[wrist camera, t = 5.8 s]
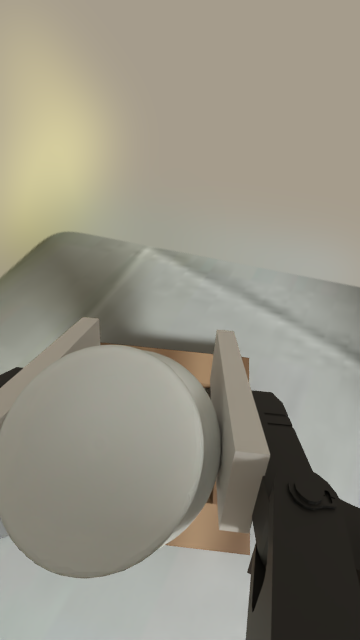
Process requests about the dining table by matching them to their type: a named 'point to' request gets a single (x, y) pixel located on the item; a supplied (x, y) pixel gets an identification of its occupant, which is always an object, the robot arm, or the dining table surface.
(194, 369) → the pocket
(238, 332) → the dining table surface
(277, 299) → the dining table surface
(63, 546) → the pill bottle
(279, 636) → the robot arm
